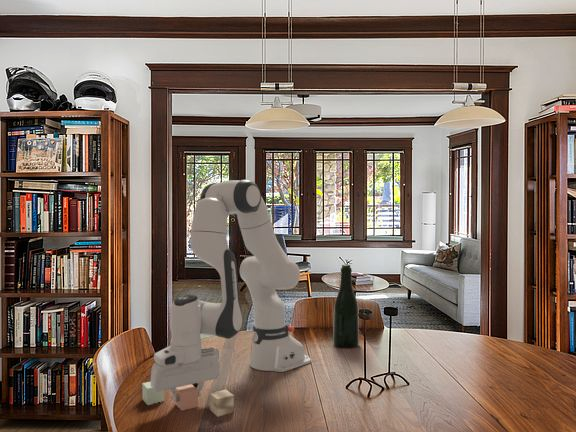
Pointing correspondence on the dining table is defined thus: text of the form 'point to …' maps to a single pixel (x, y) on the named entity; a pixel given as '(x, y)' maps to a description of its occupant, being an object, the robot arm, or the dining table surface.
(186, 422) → the dining table surface
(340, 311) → the beer bottle
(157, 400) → the sage block
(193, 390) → the peach block
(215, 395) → the birch block
